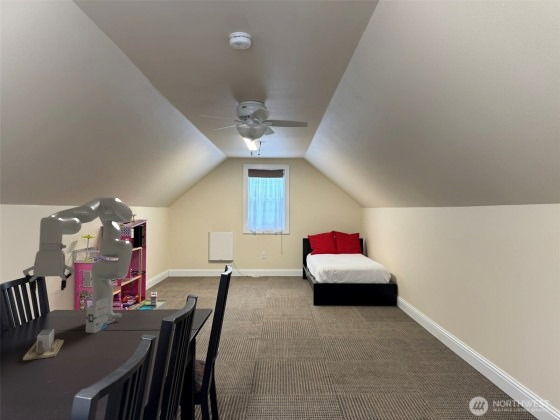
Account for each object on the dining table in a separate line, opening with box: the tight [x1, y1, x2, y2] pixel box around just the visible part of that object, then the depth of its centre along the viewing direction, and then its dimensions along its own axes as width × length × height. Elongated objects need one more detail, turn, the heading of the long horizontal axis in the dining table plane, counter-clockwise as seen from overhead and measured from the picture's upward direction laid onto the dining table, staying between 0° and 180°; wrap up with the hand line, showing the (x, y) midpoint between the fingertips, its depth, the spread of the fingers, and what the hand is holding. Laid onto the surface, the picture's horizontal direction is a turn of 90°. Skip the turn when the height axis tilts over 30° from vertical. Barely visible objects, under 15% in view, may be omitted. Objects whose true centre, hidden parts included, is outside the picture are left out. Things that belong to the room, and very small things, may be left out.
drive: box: [36, 328, 55, 352], centre depth 130 cm, size 4×8×6 cm, turn 24°
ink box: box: [85, 298, 108, 334], centre depth 156 cm, size 9×5×15 cm, turn 168°
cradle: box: [22, 338, 65, 361], centre depth 130 cm, size 10×16×6 cm, turn 24°
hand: (48, 290), depth 131 cm, fingers open, 9 cm apart
